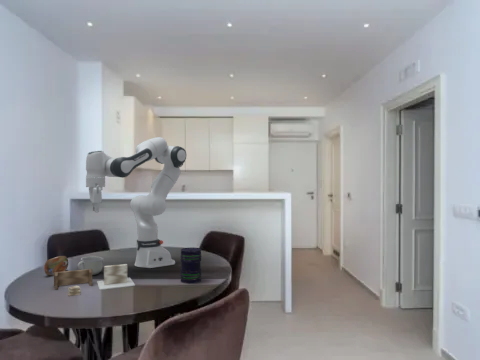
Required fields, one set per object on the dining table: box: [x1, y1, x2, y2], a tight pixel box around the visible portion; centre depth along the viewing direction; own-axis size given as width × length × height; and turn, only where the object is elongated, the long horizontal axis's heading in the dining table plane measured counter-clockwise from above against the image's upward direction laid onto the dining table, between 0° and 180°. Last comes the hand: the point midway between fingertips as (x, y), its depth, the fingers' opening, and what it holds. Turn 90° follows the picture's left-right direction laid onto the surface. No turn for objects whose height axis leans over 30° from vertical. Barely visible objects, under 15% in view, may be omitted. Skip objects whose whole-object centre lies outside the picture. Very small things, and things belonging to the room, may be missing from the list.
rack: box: [53, 269, 93, 291], centre depth 164 cm, size 16×7×6 cm, turn 116°
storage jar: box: [179, 247, 202, 284], centre depth 173 cm, size 10×10×15 cm
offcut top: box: [67, 285, 81, 292], centre depth 152 cm, size 4×3×1 cm
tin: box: [44, 255, 69, 277], centre depth 186 cm, size 15×3×8 cm, turn 168°
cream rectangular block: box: [103, 263, 128, 285], centre depth 168 cm, size 10×2×8 cm, turn 116°
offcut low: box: [68, 292, 81, 297], centre depth 152 cm, size 4×4×1 cm
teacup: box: [77, 255, 104, 276], centre depth 184 cm, size 14×11×8 cm
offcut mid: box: [68, 289, 82, 295], centre depth 152 cm, size 4×3×1 cm
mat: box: [96, 277, 136, 291], centre depth 167 cm, size 15×14×1 cm
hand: (95, 211), depth 180 cm, fingers open, 8 cm apart
